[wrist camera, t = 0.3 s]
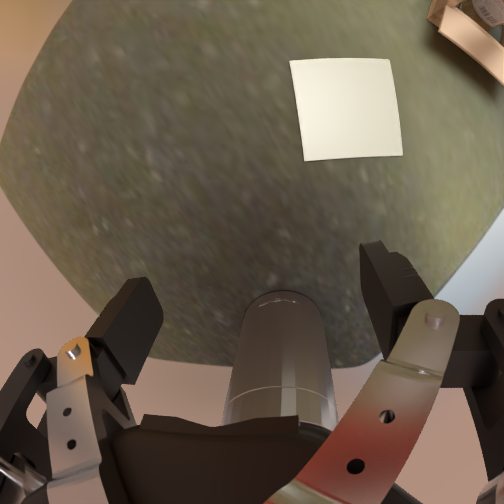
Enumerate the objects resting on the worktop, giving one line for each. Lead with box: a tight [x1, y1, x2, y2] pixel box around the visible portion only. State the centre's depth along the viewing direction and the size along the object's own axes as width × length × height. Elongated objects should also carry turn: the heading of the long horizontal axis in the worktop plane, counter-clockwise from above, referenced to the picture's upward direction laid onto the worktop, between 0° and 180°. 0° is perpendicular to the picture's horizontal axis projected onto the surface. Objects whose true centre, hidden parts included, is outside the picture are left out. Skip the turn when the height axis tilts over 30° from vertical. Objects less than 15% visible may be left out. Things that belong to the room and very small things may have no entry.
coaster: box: [289, 58, 403, 161], centre depth 24 cm, size 10×10×1 cm
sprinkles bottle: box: [459, 0, 504, 31], centre depth 11 cm, size 5×5×13 cm
